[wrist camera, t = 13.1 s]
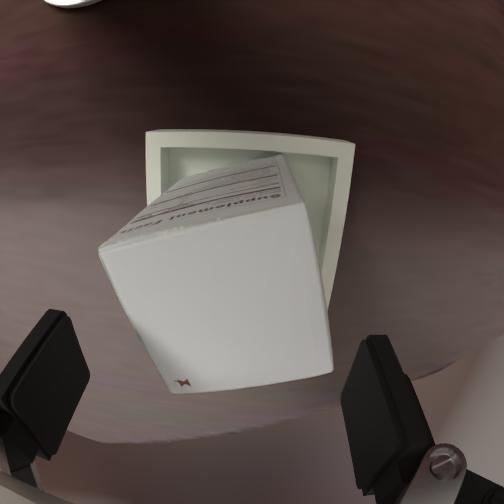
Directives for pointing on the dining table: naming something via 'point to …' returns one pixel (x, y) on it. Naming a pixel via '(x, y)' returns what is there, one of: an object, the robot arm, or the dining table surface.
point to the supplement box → (225, 280)
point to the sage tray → (256, 146)
